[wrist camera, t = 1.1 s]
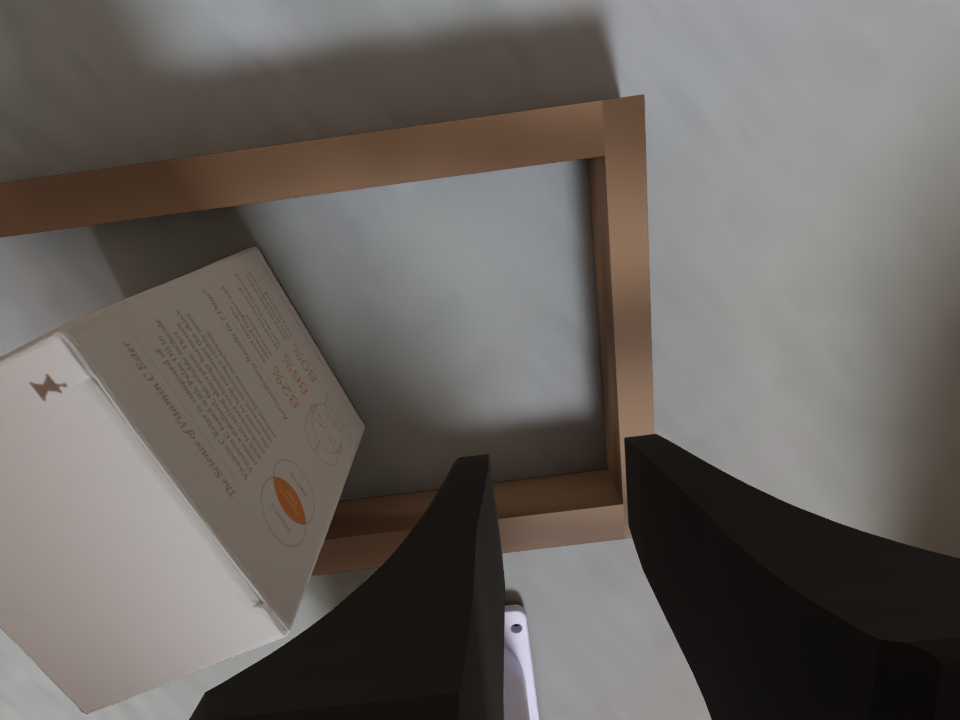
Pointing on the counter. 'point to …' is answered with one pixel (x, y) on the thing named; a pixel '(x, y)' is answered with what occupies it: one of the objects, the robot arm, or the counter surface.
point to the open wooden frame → (415, 157)
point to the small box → (166, 481)
